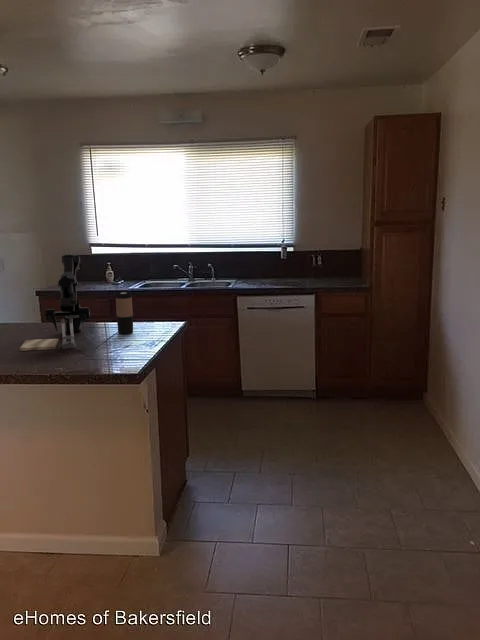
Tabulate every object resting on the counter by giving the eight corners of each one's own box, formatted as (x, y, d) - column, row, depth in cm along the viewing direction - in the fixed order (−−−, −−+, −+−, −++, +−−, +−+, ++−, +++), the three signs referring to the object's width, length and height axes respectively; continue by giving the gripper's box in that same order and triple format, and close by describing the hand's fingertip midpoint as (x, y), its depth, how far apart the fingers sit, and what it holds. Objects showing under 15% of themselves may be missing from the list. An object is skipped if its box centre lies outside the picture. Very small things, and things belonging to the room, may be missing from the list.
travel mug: (114, 333, 254) (111, 292, 250) (124, 330, 261) (122, 290, 257) (126, 335, 251) (124, 294, 246) (136, 332, 257) (134, 291, 253)
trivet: (58, 341, 242) (58, 338, 241) (54, 349, 228) (53, 346, 228) (26, 342, 239) (26, 340, 239) (19, 350, 226) (19, 348, 225)
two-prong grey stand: (75, 345, 234) (73, 316, 231) (74, 348, 230) (72, 319, 227) (63, 346, 233) (60, 317, 230) (62, 348, 228) (59, 319, 226)
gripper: (43, 291, 229) (42, 321, 221) (87, 289, 233) (88, 318, 225) (47, 305, 238) (46, 335, 230) (89, 303, 242) (90, 332, 234)
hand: (67, 330), depth 229 cm, fingers open, 9 cm apart
